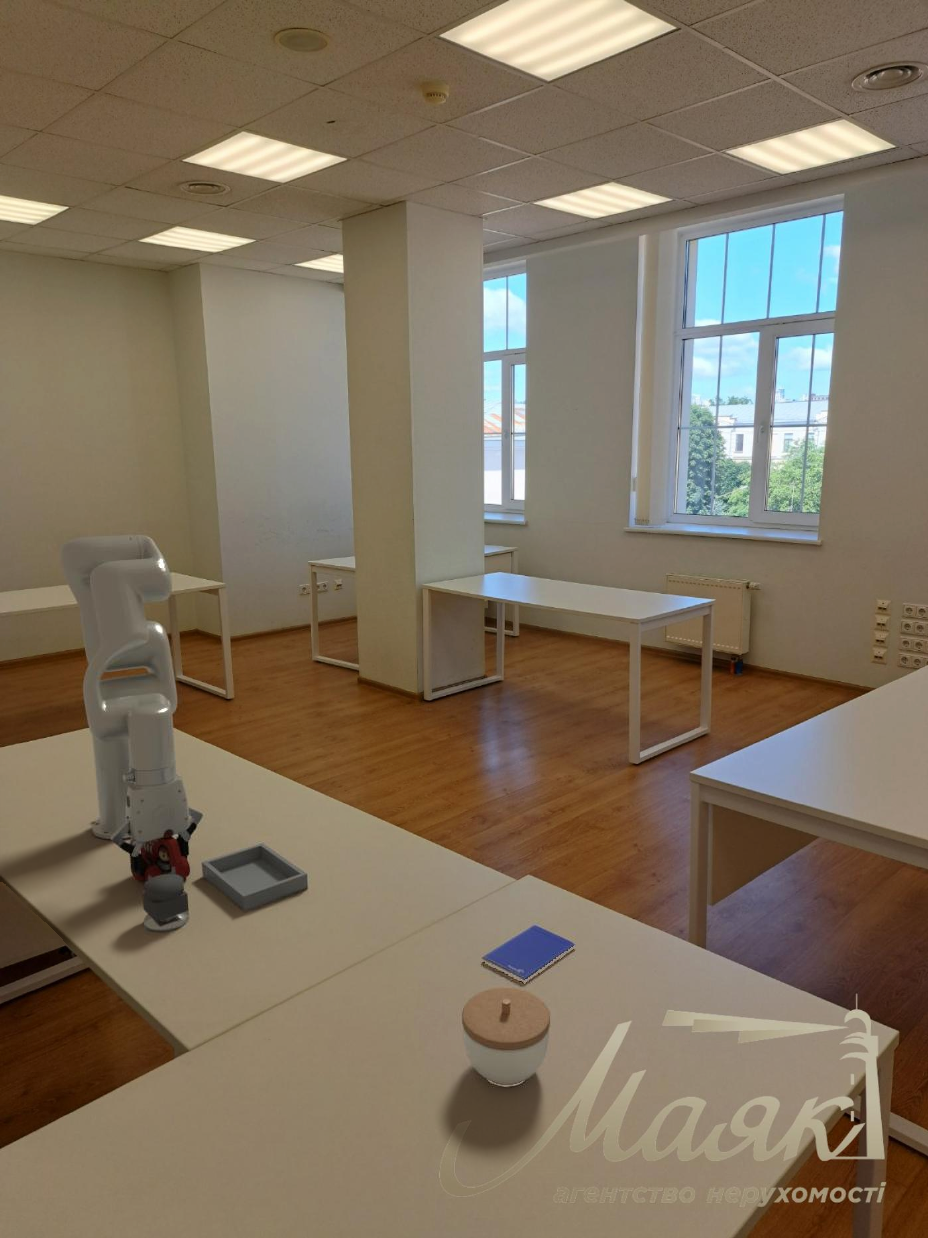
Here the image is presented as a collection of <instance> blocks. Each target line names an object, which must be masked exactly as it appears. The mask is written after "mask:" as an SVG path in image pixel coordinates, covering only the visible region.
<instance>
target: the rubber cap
mask: <svg viewBox="0 0 928 1238" xmlns="http://www.w3.org/2000/svg"><path fill="white" fill-rule="evenodd" d="M184 884H185V883H184V878H182V877H181V876H179V875H176V874H164V875H159V876H156V877H153V878H151V879H149V880H148V881H147V882H146V881H145V883H144V891H141V896H142V906H143V907H142V909H143V910H144V911H145V913H146V914H149V915H150V917H151V918H152V919H153V920H154V921H155V922H158V921H161V920H164V919H166V918H169V917H172V916H175V915H178V914H181V913H183V912H186V911H189V899H188V898H189V897H188V896H189V895H188V893H187V891H185V888H184V887H185V885H184Z"/></svg>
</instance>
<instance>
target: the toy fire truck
mask: <svg viewBox="0 0 928 1238" xmlns="http://www.w3.org/2000/svg"><path fill="white" fill-rule="evenodd" d="M174 835H175V834H174V833H173V830H171V829H168V830H166V831H165V832H164V838H160V839H157V840H153V841H150V842H146V843H143V846H142V848H141V850H140V854H141V855H142V857H143V870H144V875H143V876H141V877H139V876H138V875H137V874H136V873H135V872H133V871H132V870H131V869H130V872H131V874H132V876H133V878H134V879H135V880H136V881H138V882H141V881H144V880H145V883H146V882H147V881H148V880H149V879H151V878H153V877H156V876H159V875H164V874H176V875H179V876H181V877H182V878H183V879H185V878H188V877H189V876H190V873H191V867H190V863H189V860H188V858H187V859H186V858H185V857H184V856H181V853H180V850H179V846H178V843H177V840H176V839H177V838H175V837H173V836H174Z"/></svg>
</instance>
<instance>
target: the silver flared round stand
mask: <svg viewBox="0 0 928 1238" xmlns="http://www.w3.org/2000/svg"><path fill="white" fill-rule="evenodd" d="M189 920H190V913H189V911H186V912H183V913H181V914H178V915H175V916H172V917H169V918H166V919H164V920H161V921H158V922H155V921H154V920H153V919H152V918H151V917H150V915H149V914H148V913H146V915H145V916H144V918H143V926H144V929H146V930H147V931H149V932H152V933H168V932H171V931H175V930H178V929H181V928H182V927H184V926H185V925H186V924H187V923H188V922H189Z"/></svg>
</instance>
